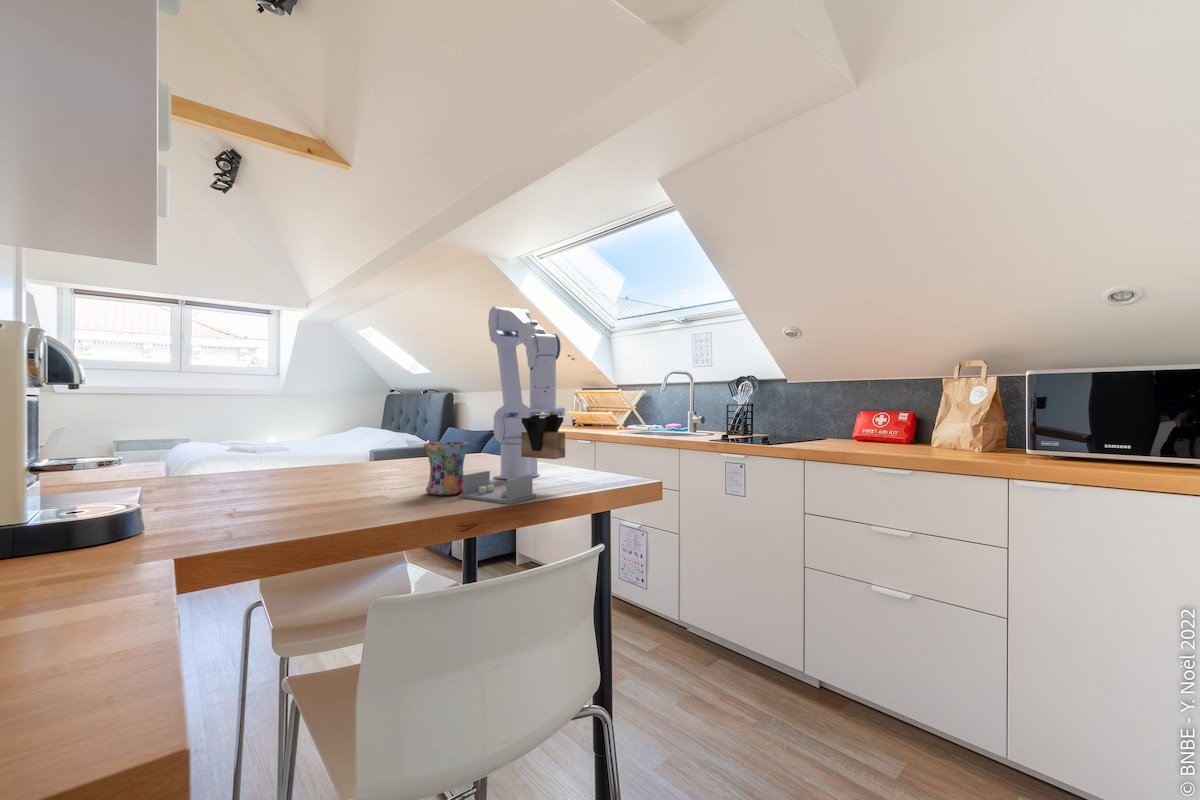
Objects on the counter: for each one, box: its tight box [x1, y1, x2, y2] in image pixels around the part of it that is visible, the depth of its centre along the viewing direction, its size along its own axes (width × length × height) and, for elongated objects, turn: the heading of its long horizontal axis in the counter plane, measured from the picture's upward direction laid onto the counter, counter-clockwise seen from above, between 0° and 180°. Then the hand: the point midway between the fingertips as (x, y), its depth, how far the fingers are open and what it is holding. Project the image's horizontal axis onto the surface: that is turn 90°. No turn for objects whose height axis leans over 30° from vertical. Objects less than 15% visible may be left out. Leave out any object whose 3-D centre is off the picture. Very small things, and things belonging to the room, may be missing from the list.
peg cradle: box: [458, 470, 537, 505], centre depth 106 cm, size 8×14×4 cm, turn 60°
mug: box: [423, 441, 470, 496], centre depth 111 cm, size 12×9×11 cm
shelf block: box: [521, 431, 566, 460], centre depth 114 cm, size 4×9×6 cm, turn 60°
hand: (542, 449), depth 114 cm, fingers closed on shelf block, 4 cm apart
